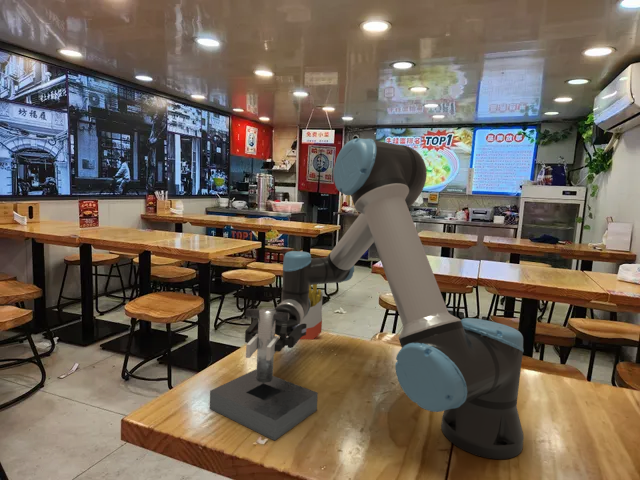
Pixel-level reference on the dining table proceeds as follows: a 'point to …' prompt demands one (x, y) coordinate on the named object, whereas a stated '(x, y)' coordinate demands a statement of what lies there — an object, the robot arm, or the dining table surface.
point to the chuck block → (264, 404)
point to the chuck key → (265, 339)
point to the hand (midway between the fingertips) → (258, 352)
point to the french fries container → (313, 314)
